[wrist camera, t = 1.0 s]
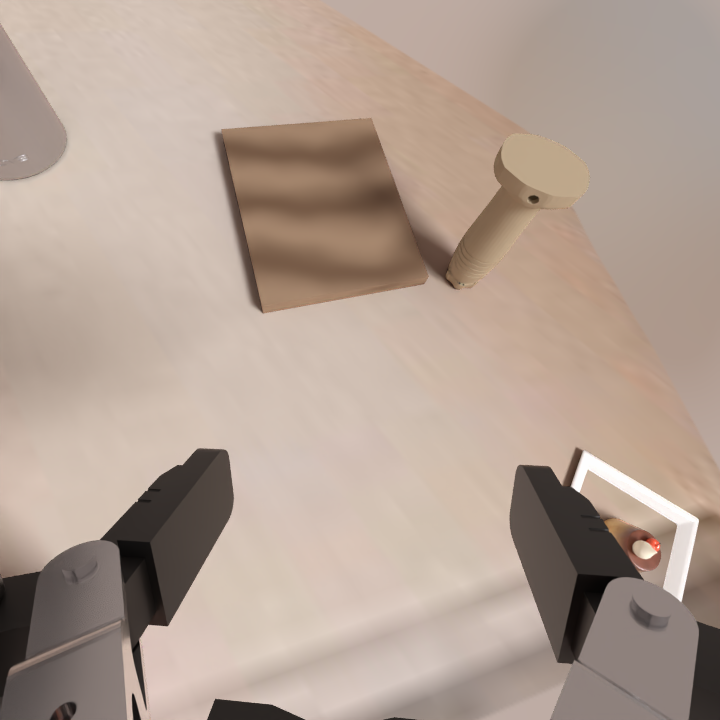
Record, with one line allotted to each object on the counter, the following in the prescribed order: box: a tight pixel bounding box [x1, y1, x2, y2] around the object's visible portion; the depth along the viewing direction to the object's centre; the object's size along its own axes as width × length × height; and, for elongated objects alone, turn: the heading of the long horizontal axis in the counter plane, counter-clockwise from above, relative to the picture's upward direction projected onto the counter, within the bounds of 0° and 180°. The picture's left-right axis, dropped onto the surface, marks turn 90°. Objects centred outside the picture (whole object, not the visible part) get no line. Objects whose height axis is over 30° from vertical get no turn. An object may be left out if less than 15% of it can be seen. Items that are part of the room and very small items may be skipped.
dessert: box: [570, 450, 699, 602], centre depth 33 cm, size 12×12×5 cm
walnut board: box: [221, 118, 429, 313], centre depth 40 cm, size 20×16×2 cm
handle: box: [446, 134, 590, 290], centre depth 34 cm, size 5×6×15 cm
